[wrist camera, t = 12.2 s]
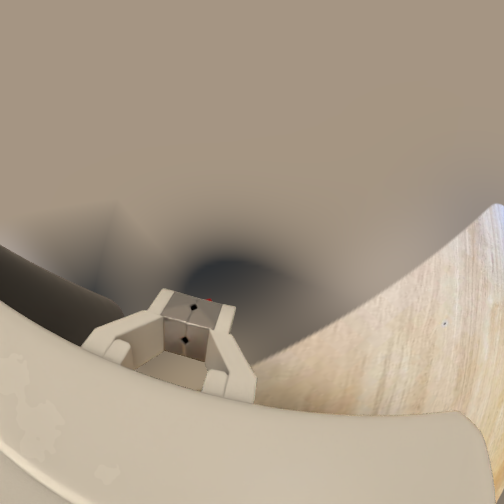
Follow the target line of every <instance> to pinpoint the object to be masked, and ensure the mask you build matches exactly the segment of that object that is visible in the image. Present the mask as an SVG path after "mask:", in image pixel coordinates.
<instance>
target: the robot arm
mask: <svg viewBox="0 0 504 504" xmlns="http://www.w3.org/2000/svg"><path fill="white" fill-rule="evenodd" d="M235 309H236V307H234V306H229V305H224V304H218V303H215V302H211V301H207V300H203V299H199V298H196V297H192V296H189V295H186V294H182V293H179V292H175V291H171V290H168V289H165V288H164V289H162V290H161V291H160V293H159V294H158V296H157V297H156V299H155V300H154V301H153V303H152V304H151V306H150V307H149V309H148V310H147V311H145V310H143V311H140V312H137V313H135V314H132V315H129V316H127V317H124V318H121V319H119V320H116V321H114V322H111V323H108V324H106V325H103V326H100V327H98V328H95V329H94V331H93V332H92V333H91V334H90V336H89V337H88V338H87V339H86V341H85V342H84V343H83V345H82V346H81V347H79V346H77V345H75V344H73V343H71V342H69V341H67V340H65V339H63V338H61V337H59V336H57V335H55V334H54V333H52V332H50V331H48V330H46V329H45V328H43V327H41V326H39V325H38V324H36V323H34V322H33V321H31V320H29V319H28V318H26V317H24V316H23V315H21V314H20V313H18V312H17V311H15V310H13V309H12V308H10V307H9V306H7V305H6V304H5V303H3V302H2V301H0V504H496V500H495V489H494V481H493V474H492V469H491V464H490V459H489V455H488V451H487V447H486V443H485V440H484V437H483V435H482V433H481V431H480V429H479V428H478V427H477V426H476V425H475V424H474V423H473V422H472V421H471V420H470V419H469V418H467V417H466V416H465V415H464V414H463V413H461V412H460V411H445V412H436V413H426V414H411V415H342V414H327V413H315V412H306V411H297V410H289V409H282V408H276V407H269V406H263V405H258V404H254V399H255V392H256V384H257V377H256V375H255V374H254V372H253V370H252V368H251V367H250V365H249V363H248V362H247V360H246V358H245V356H244V355H243V353H242V351H241V349H240V348H239V346H238V344H237V342H236V341H235V339H234V337H233V335H231V334H230V332H231V328H232V323H233V318H234V314H235ZM164 351H168V352H171V353H175V354H178V355H182V356H186V357H189V358H192V359H196V360H198V361H202V362H205V365H206V368H207V371H208V372H207V375H206V379H205V381H204V384H203V387H202V390H201V392H200V391H196V390H193V389H189V388H186V387H182V386H179V385H176V384H172V383H169V382H166V381H163V380H160V379H157V378H154V377H151V376H148V375H146V374H143V373H140V372H137V371H135V369H137V368H138V367H140V366H142V365H143V364H145V363H147V362H148V361H150V360H151V359H153V358H154V357H156V356H158V355H159V354H160V353H162V352H164Z"/></svg>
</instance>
